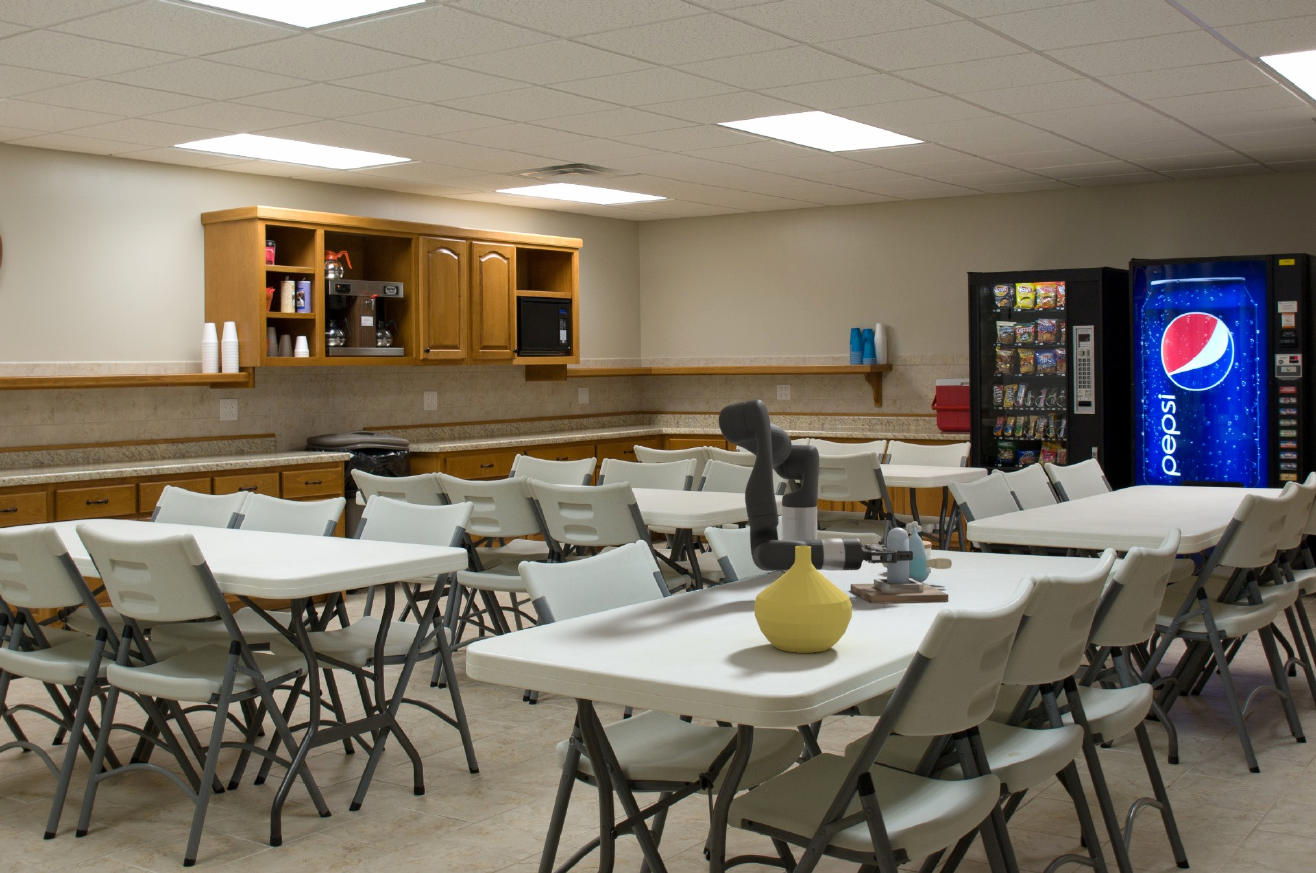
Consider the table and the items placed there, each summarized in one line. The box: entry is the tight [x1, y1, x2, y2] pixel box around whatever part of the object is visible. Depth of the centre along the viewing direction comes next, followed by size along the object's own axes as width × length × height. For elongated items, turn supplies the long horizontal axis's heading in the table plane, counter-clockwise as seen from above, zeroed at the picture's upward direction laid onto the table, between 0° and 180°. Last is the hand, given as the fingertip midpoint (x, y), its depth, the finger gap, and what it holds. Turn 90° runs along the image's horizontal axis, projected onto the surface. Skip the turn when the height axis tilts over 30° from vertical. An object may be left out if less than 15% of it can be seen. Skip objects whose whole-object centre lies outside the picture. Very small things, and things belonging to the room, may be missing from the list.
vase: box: [753, 546, 853, 654], centre depth 235 cm, size 18×18×19 cm
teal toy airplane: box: [881, 521, 953, 583], centre depth 309 cm, size 17×10×15 cm, turn 84°
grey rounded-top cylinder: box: [886, 527, 909, 584], centre depth 291 cm, size 5×5×14 cm
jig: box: [850, 578, 949, 604], centre depth 291 cm, size 17×18×3 cm
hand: (906, 552), depth 291 cm, fingers open, 8 cm apart
